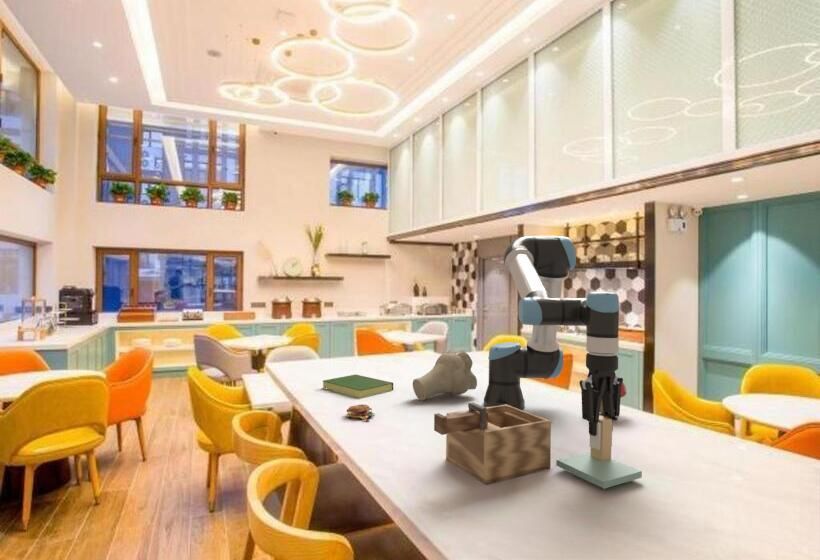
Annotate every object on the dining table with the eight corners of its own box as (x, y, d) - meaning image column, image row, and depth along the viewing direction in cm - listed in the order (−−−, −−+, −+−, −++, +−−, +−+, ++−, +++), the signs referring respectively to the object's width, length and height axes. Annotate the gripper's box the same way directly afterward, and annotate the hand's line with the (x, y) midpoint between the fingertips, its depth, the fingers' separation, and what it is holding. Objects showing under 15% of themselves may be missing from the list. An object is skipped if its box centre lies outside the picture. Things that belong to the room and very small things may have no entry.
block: (480, 422, 113) (480, 407, 113) (489, 426, 110) (489, 410, 110) (434, 430, 107) (434, 413, 107) (442, 434, 104) (442, 417, 104)
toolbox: (505, 446, 131) (506, 386, 131) (550, 468, 116) (551, 400, 116) (431, 461, 119) (432, 395, 119) (470, 488, 104) (471, 412, 104)
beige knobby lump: (421, 374, 167) (479, 350, 181) (389, 356, 185) (444, 335, 199) (426, 427, 173) (482, 399, 187) (395, 404, 190) (448, 381, 205)
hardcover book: (393, 391, 197) (393, 382, 197) (360, 399, 183) (360, 390, 183) (354, 382, 213) (354, 374, 213) (321, 389, 199) (321, 380, 199)
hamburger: (333, 422, 153) (334, 403, 153) (353, 411, 166) (354, 394, 166) (372, 427, 148) (372, 408, 148) (389, 415, 161) (389, 398, 161)
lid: (592, 456, 121) (593, 412, 121) (641, 477, 109) (642, 428, 109) (556, 465, 115) (557, 419, 115) (604, 488, 103) (604, 436, 102)
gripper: (611, 349, 124) (610, 437, 124) (566, 353, 116) (565, 446, 116) (636, 353, 117) (635, 446, 117) (591, 357, 109) (590, 457, 109)
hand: (600, 446), depth 117 cm, fingers open, 3 cm apart
